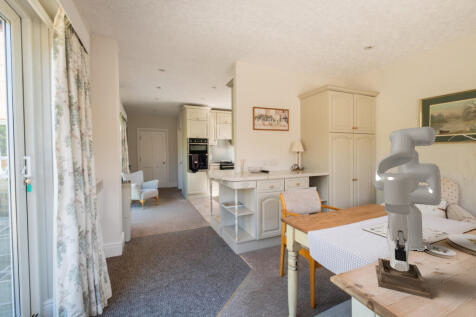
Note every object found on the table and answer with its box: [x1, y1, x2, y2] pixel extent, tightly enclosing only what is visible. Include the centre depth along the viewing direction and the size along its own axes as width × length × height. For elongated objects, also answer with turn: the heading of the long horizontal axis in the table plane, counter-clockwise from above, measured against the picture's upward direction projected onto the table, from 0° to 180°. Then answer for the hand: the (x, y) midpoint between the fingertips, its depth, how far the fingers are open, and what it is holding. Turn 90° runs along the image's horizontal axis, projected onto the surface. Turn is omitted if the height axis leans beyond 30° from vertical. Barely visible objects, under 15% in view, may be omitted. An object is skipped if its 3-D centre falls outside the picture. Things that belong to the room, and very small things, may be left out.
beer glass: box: [386, 225, 411, 273], centre depth 76 cm, size 7×7×15 cm
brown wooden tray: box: [375, 257, 432, 300], centre depth 75 cm, size 14×14×5 cm
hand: (398, 255), depth 76 cm, fingers closed on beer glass, 6 cm apart
